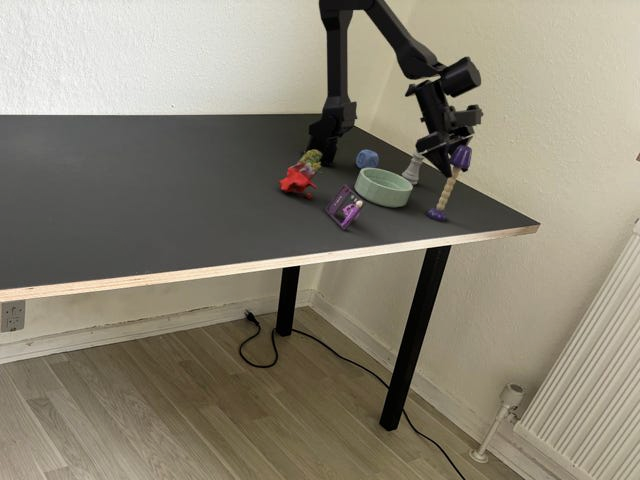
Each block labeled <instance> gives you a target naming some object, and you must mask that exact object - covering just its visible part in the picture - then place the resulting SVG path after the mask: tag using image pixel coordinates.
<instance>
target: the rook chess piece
mask: <svg viewBox="0 0 640 480" xmlns="http://www.w3.org/2000/svg"><path fill="white" fill-rule="evenodd" d="M423 153H426V151H424V152H422V153H418V152H417V150H416V149H415V151H414V152H412V158H411V161H410V163H409V165H408V167H407V168H406V169H405V171H403V172H402V173H401V175H400V176H401V177H403V178H404V179H406V180H407V181H409V182H410V183H411V184H412V186H415V185H417V184H418V181H419V180H420V179H419V178H420V177H419V172H420V167H421V165H422V164H423V160H425V159H426V158H425V157H424V156H422V155H421V154H423Z"/></svg>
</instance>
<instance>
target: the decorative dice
mask: <svg viewBox="0 0 640 480" xmlns="http://www.w3.org/2000/svg"><path fill="white" fill-rule="evenodd" d="M379 161H380V160H379V155H378V153H377V152H375V151H373V150H370V149H363V150H361V151H360V152H359V153H358V154H357V156H356V159H355V163H356V167H358V169H360V170H361V169H364V168H376V167H378V164H379Z"/></svg>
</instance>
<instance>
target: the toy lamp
mask: <svg viewBox="0 0 640 480" xmlns="http://www.w3.org/2000/svg"><path fill="white" fill-rule="evenodd" d="M472 153H473V149H472V148H471V147H470V146H469V145H468V146H465V145H460V146H458V147H457V149H456V150H455V152H454V153H453V154H452V156H449V160H450V165H451V166H452V168H451V170H452V177H451V178H447V180H446V183H445V185H444V187H443V191H442V192H441V196H440V197H439V200H438V203H437V205H436V207H433V208H431V209H429V210H428V212H427V215H426V216H427V217H429V218H430V219H432V220H435V221H437V222H444V221H446V219H447V215H446V212H445V211H444V210H445V208H446V204H447V203H448V199H449V198H450V196H451V193H452V191H453V189H454V186H455V185H456V181H457V178H459V173H460V172H461V171H462V170H461V168H464V169H466V168H468V169H469V168H470V167H471V161H472Z"/></svg>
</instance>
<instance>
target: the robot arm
mask: <svg viewBox="0 0 640 480" xmlns="http://www.w3.org/2000/svg"><path fill="white" fill-rule="evenodd" d="M318 9H319V16H320V20H321V22H322V25H323V28H324V29H325V32H326V33H325V34H326V89H327V90H326V91H327V94H326V99H325V101H324V103H323V107H322V110H321V118H320V119H319V120H317V121H316V122H313V123H312V124H309V126H308V136H310V137H309V140H308V142H307V146H306V149H305V150H303V155H304V154H306V153H307V152H308V151H310V150H317V151H319V152H321V153H322V154H323V156H322V158H321V159H320V160H319V162H321V164H320V166H324V167H325V166H326V167H332V163H333V162H334V160H335V157H336V155H337V151H338V148H339V147H338V142H339V140H338V139H340V138H342V137H343V136H344V135H345V134H347V133H349V132H350V131H351V130H352V129H353V128H354V126H355V124H356V120H358V115H357V108H358V107H357V106H358V103H357V102H358V101H356V100H355V101H351V98H350V96H349V85H348V84H349V83H348V82H349V79H348V76H349V75H348V74H349V73H348V71H349V70H348V69H349V67H348V66H349V65H348V64H349V63H348V54H349V53H348V31H349V27H350V24H351V21H352V19H353V16H354V11H363V12H365V14H366V15H367V17H368V18H369V19H370V21H371V22H372V23H373V24H374V26H375V27H376V29H377V30H378V31H379V33H380V34H381V35H382V36H383V38H384V39H385V40H386V41H387V43H388V44H389V46H390V47H391V48H392V50H393V53H395V57H396V63H397V64H398V66H399V68H400V70H401V72H402V74H403V76H404V77H405V78H406V79H408V80H411V81H416V80H417V81H418V80H423V81H421V82H419V83H417V84H416V83H409V84H408V87H407V90H406V91H405V93H404V97H405V98H409V97H414V96H415V98H416V101H417V104H418V106H419V107H418V108H419V109H420V112H421V115H422V117H419V120H420V123H421V124H423V123H424V124H425V127H426V129H427V132H428V134H427V135H425V136H423V137H420V138H419V139H417V140H416V142H415V144H414V146H415V151H416V150H417V152H418V153H422V152H425V153H423V154H421V155H422V156H424V157H425V159H426V160H427V161H429V163H431V164H432V165H433V166H434V168H436V169H437V170H438V171H439V172H440V173H441V174H442V175H443V176H444V177H445V178H446V179H448V178H451V177H452V165H451V164H450V160H449V158H450V157H451V156H452V154H453V153H454V152H455V150H456V149H457V147H458V146H460V145H465V146H468V147H469V144H470V142H471V141H472V140H473V138H474V135H475V134H476V132H475V129H474V127H476V126H477V125H480V126H481V125H482V117H483V116H484V115H485V113H484V112H483V109H482V108H481V107H479V104H478V103H475V104H469V105H468V106H467V107H466V109H464V110H457V109H456V107H455V106H454V105H453V104H451V105H450V103H449V102H448V98H447V97H448V96H450V97H451V98H453V99H456V98H458V97H459V96H460V97H461V96H462V95H464V94H467V93H469V92H471V91H473V90H475V89H477V88H479V87H481V85H482V76H481V73H480V70H479V69H478V68H477V66H476V65H475V63H474V62H473V61H472V60H471V57H470V56H463V57H461V58H460V59H459V60H457V61H456V62H453V63H451V64H450V65H448V66H447V65H446V64H444V63H442V62H440V61H438V57H437V56H436V54H435V53H434V52H432V51H431V49H429V48H428V47H427V46H426V45H425V44H423V43H422V42H420V41H418V40H417V39H415V37H413V36H412V34H411V33H410V32H409V31H408V29H407V28H406V26H404V24H403V23H402V21H400V19H399V17H398V16H397V14H395V12H394V11H393V10H392V8H391V7H390V6H389V5H388V3H387V2H386V0H318ZM434 77H435V78H436V77H439V78H437V79H435V80H433V81H432V80H431V79H429V78H434ZM460 171H461V172H462V173H466V172H468V171H469V168H466V169H464V168H461V170H460Z"/></svg>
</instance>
